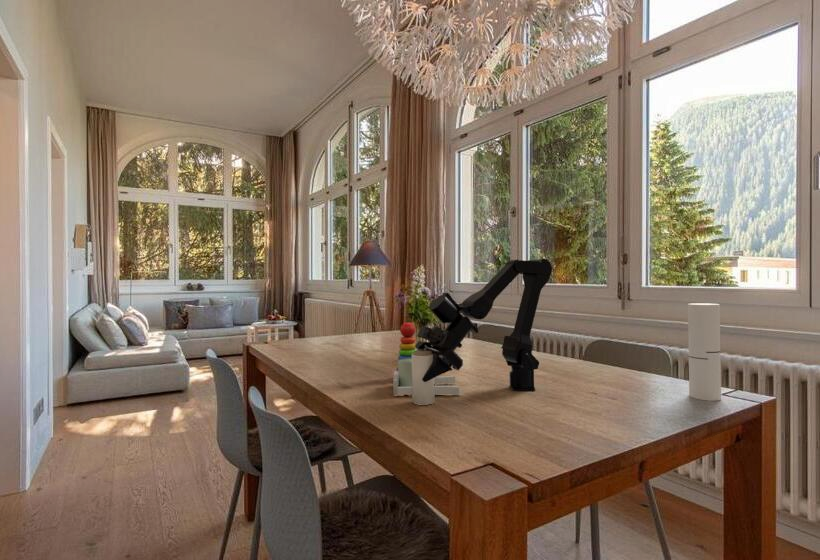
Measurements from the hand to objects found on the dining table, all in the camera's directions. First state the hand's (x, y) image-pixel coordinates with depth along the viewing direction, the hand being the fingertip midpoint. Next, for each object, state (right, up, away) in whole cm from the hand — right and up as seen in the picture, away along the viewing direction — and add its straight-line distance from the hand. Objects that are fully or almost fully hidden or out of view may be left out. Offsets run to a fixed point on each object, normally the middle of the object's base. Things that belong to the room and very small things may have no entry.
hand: (418, 378), depth 119 cm
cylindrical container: (+77, -5, +1) cm, 77 cm away
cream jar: (+1, -7, +1) cm, 7 cm away
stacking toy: (-3, -7, +29) cm, 30 cm away
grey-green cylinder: (-3, -7, +14) cm, 16 cm away
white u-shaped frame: (+3, -6, +14) cm, 15 cm away
